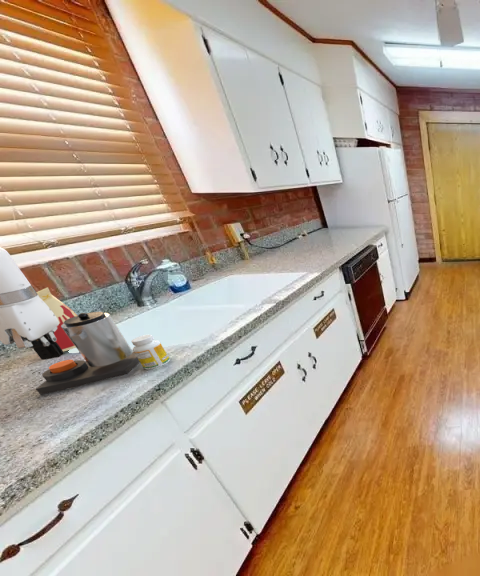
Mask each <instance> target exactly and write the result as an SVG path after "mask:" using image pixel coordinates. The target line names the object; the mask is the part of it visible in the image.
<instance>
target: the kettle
mask: <svg viewBox="0 0 480 576" xmlns="http://www.w3.org/2000/svg"><path fill="white" fill-rule="evenodd" d="M61 327H62V329H63V330H64V331H65V333H66V334H67V336H68V337H69V338H70V340H71V341H72V342H73V344H74V345H75V347H76V348H75V349H77V351H78V352H79V354H80V355H81V356H82V358H83V360H84V361H86V362H87V363H88V364H89V366H91V367H100V366H105V365H109V364H112V363H115V362H118V361H121V360H123V359H125V358H127V357H128V356H130V355H131V354H132V353H133V348H131V346H130V345H129V342H128V341H127V340H126V338H125V337H124V335H123V334H122V332H121V331H120V329H119V327H118V326H117V324H116V322H115V321H114V319H113V318H112V316H111V314H110V313H108V312H104V311H92V312H80V313H79V314H77V316H75V317H72V318H70V319H67V320H66V321H64V324H62V325H61Z"/></svg>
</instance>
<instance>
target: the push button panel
mask: <svg viewBox="0 0 480 576" xmlns="http://www.w3.org/2000/svg"><path fill="white" fill-rule="evenodd" d="M73 361H74V362H75V363H76V365H77V366H75V367H73V368H71V369H69V370H66V371H63V372H60V373H52V372H51V371H50V369H49V368H48V369H47V370H46V371H43V373H41V376H42V377H43V379H44V380H45V381H44V382H42V383H41V384H40V385H38V386H37V387H36V388H35V390H36V392H37V393H38V394H39V395H40V396H44V395H49V394H52V393H57V392H61V391H65V390H69V389H73V388H78V387H81V386H86V385H90V384H94V383H98V382H102V381H103V382H104V381H106V380H110V379H114V378H118V377H124V376H127V375H129V374H130V373H131V372H132V371H133V370H134V369H135V368H136V367H137V366H138V365H139V364H141V363H140V361H139V360H138V358H137V357H136V355H135V353H134V352H133V353H132V354H131V355H130V356H128V357H127V358H125V359H123V360H121V361H118V362H115V363H112V364H109V365H105V366H100V367H91V366H89V364H88V363H87V362H86V360H85V359H76V360H73Z"/></svg>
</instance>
